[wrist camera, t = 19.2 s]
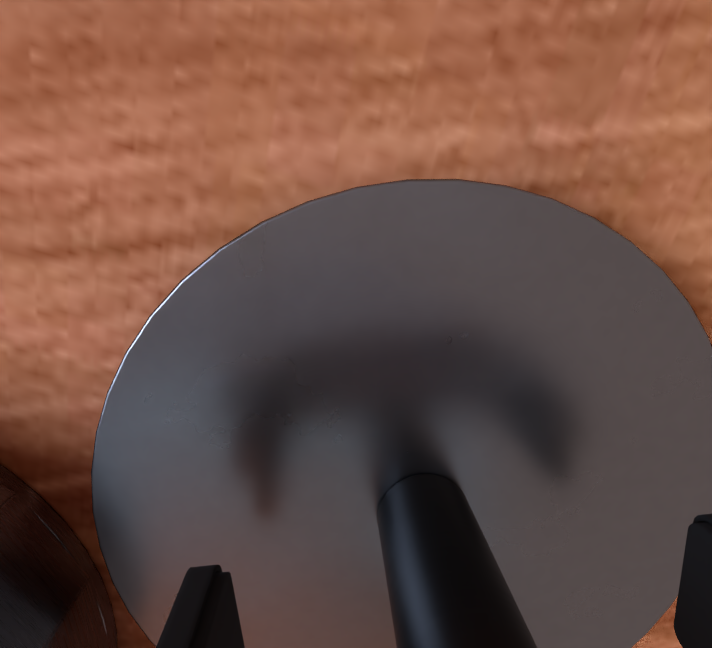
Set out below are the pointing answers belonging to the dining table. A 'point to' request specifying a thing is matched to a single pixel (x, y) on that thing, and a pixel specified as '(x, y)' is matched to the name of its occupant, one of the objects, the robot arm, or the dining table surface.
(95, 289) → the dining table surface
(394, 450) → the lid
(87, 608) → the pan
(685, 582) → the robot arm
